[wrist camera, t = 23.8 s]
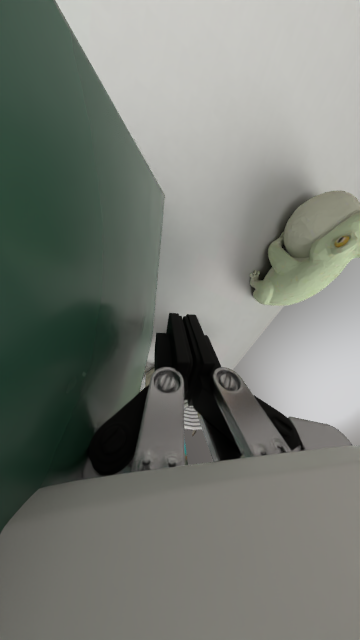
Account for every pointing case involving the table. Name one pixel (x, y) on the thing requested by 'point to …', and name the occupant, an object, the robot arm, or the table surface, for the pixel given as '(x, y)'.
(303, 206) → the figurine
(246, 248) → the table surface
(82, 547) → the robot arm
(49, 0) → the bin lid
